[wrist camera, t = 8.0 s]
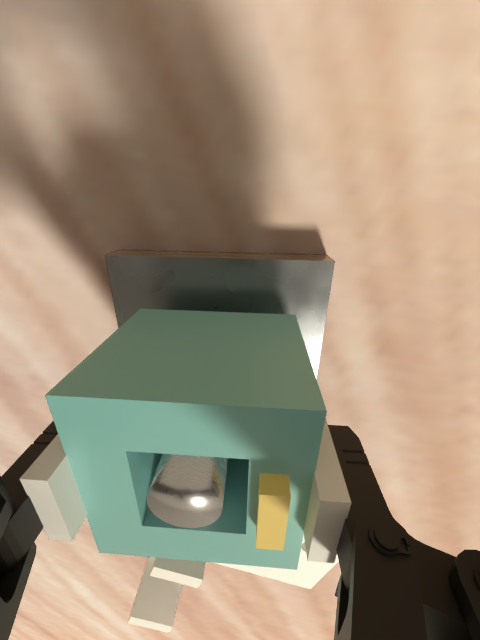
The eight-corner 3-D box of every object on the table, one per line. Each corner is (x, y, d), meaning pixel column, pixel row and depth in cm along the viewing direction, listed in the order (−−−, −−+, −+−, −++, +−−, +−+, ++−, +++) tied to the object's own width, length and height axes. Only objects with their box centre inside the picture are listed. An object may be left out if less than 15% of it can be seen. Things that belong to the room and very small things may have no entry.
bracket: (165, 497, 23) (127, 622, 16) (188, 443, 20) (153, 566, 14) (303, 537, 25) (321, 670, 18) (342, 491, 22) (382, 627, 15)
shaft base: (145, 409, 19) (51, 587, 10) (119, 250, 14) (-88, 325, 6) (303, 417, 18) (345, 611, 10) (327, 255, 14) (442, 345, 5)
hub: (140, 308, 12) (25, 412, 6) (295, 314, 12) (332, 430, 6) (157, 424, 15) (89, 573, 9) (282, 432, 15) (299, 593, 9)
